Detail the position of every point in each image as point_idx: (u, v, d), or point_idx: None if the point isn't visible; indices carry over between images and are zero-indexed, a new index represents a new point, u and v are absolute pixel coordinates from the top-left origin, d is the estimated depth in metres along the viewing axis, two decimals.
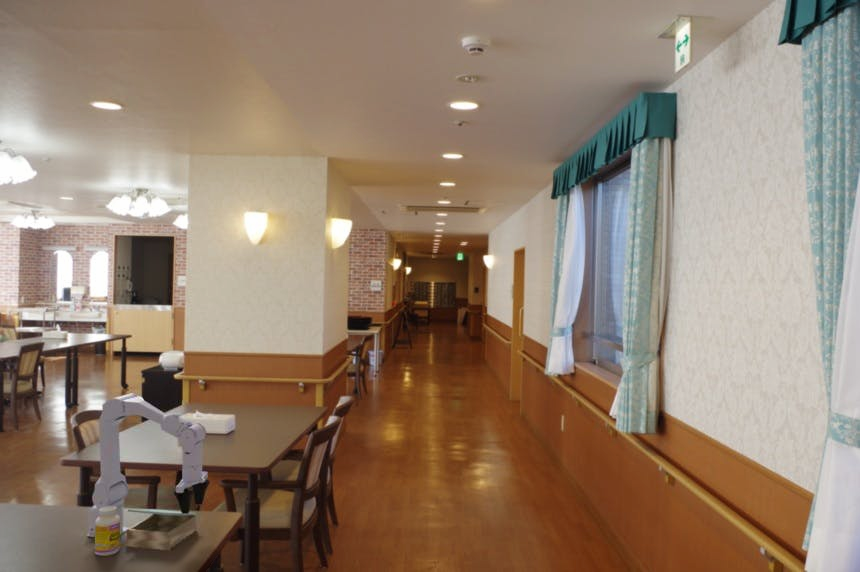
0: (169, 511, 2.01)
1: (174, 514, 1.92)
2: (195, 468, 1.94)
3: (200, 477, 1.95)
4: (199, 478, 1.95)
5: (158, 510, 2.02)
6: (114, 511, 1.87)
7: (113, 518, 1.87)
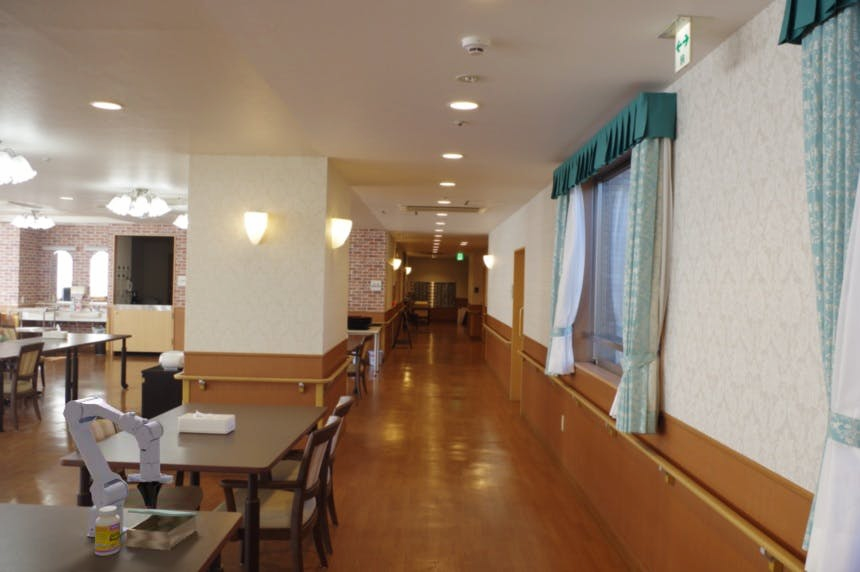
0: (169, 511, 2.01)
1: (174, 515, 1.92)
2: (140, 465, 1.96)
3: (144, 476, 1.95)
4: (142, 476, 1.95)
5: (158, 510, 2.02)
6: (114, 511, 1.87)
7: (113, 518, 1.87)
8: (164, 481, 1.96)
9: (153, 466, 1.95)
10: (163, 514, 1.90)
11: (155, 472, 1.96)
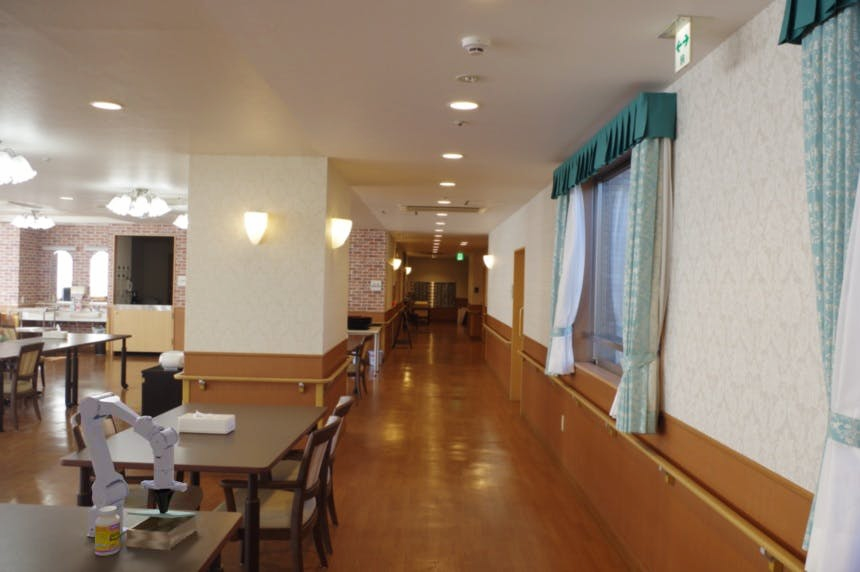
0: (169, 512, 2.00)
1: (174, 516, 1.91)
2: (154, 472, 1.95)
3: (157, 483, 1.94)
4: (156, 484, 1.94)
5: (158, 511, 2.02)
6: (114, 511, 1.87)
7: (113, 518, 1.87)
8: (178, 489, 1.95)
9: (167, 473, 1.95)
10: (163, 516, 1.90)
11: (169, 480, 1.95)
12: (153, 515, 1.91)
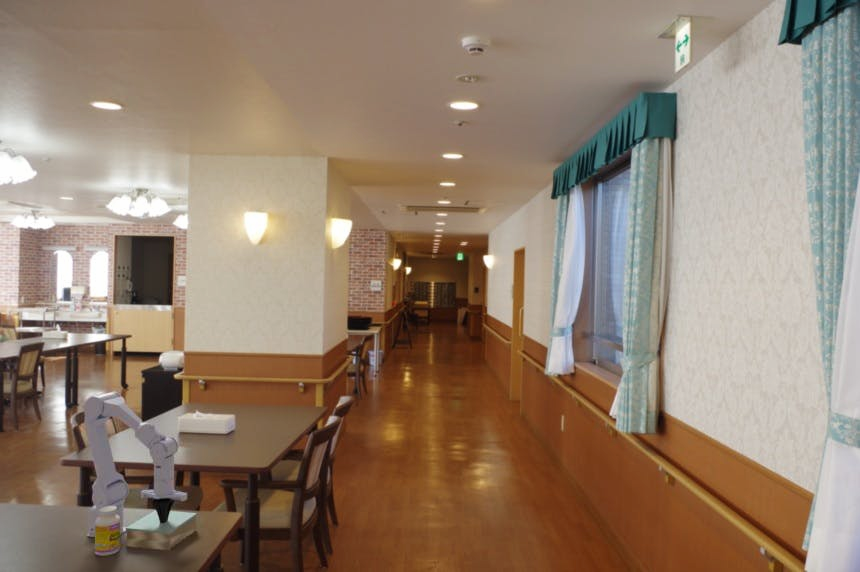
0: (168, 517, 2.00)
1: (172, 530, 1.91)
2: (154, 481, 1.95)
3: (158, 493, 1.94)
4: (156, 493, 1.94)
5: (157, 516, 2.01)
6: (114, 511, 1.87)
7: (113, 518, 1.87)
8: (178, 498, 1.96)
9: (167, 483, 1.95)
10: (161, 532, 1.90)
11: (169, 489, 1.95)
12: (151, 531, 1.90)
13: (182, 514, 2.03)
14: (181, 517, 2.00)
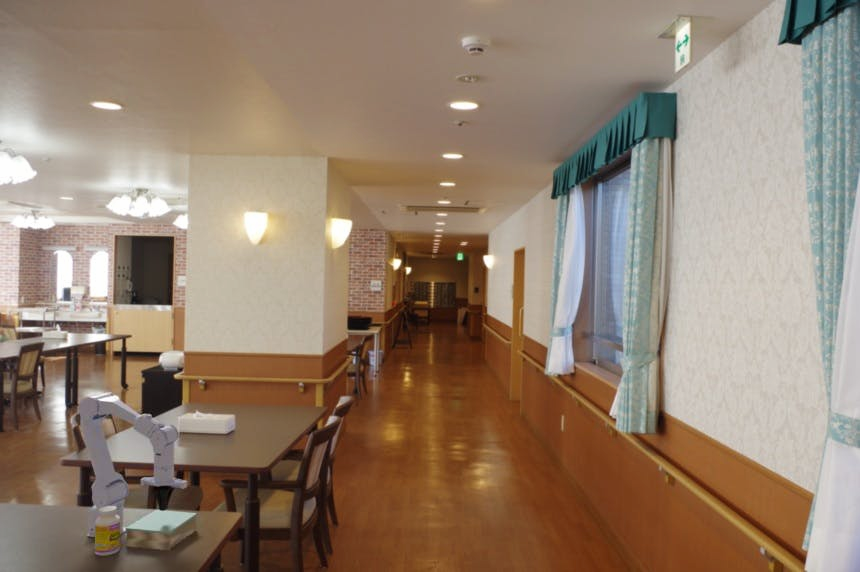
0: (168, 517, 2.00)
1: (172, 530, 1.91)
2: (154, 469, 1.95)
3: (157, 480, 1.94)
4: (156, 481, 1.94)
5: (157, 516, 2.01)
6: (114, 511, 1.87)
7: (113, 518, 1.87)
8: (178, 486, 1.96)
9: (167, 470, 1.95)
10: (161, 532, 1.90)
11: (169, 477, 1.95)
12: (151, 531, 1.90)
13: (182, 514, 2.03)
14: (181, 517, 2.00)
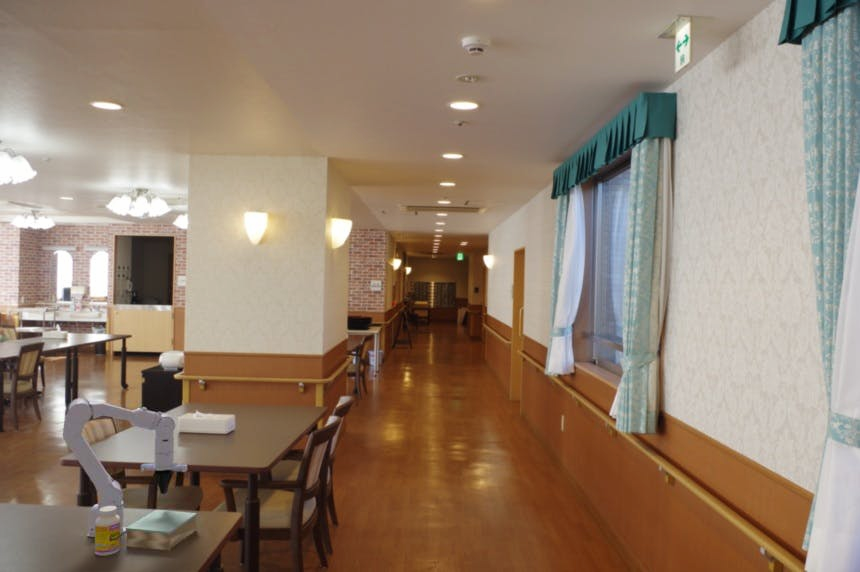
0: (168, 517, 2.00)
1: (172, 530, 1.91)
2: (155, 454, 2.07)
3: (160, 465, 2.06)
4: (158, 465, 2.06)
5: (157, 516, 2.01)
6: (114, 511, 1.87)
7: (113, 518, 1.87)
8: (179, 469, 2.08)
9: (169, 456, 2.07)
10: (161, 532, 1.90)
11: (170, 462, 2.07)
12: (151, 531, 1.90)
13: (182, 514, 2.03)
14: (181, 517, 2.00)
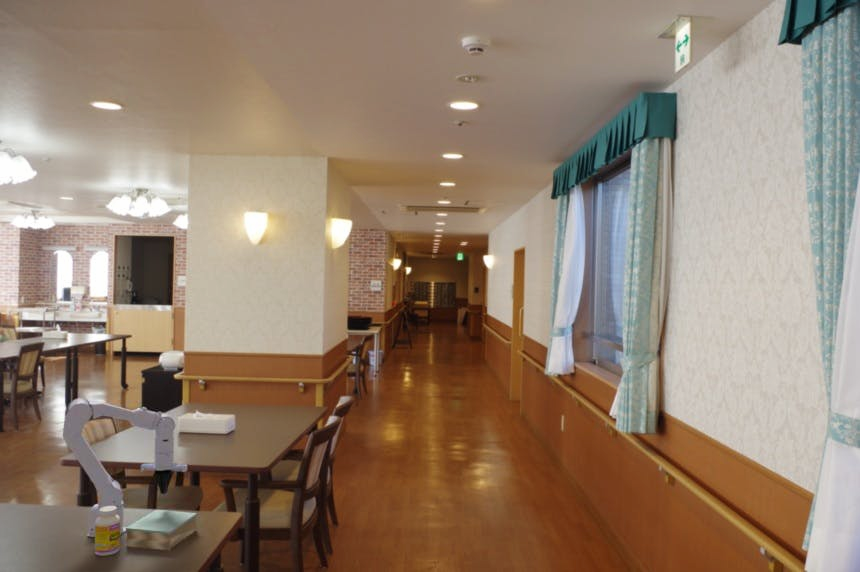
0: (168, 517, 2.00)
1: (172, 530, 1.91)
2: (155, 454, 2.07)
3: (160, 465, 2.06)
4: (158, 465, 2.06)
5: (157, 516, 2.01)
6: (114, 511, 1.87)
7: (113, 518, 1.87)
8: (179, 469, 2.08)
9: (169, 455, 2.07)
10: (161, 532, 1.90)
11: (170, 462, 2.07)
12: (151, 531, 1.90)
13: (182, 514, 2.03)
14: (181, 517, 2.00)
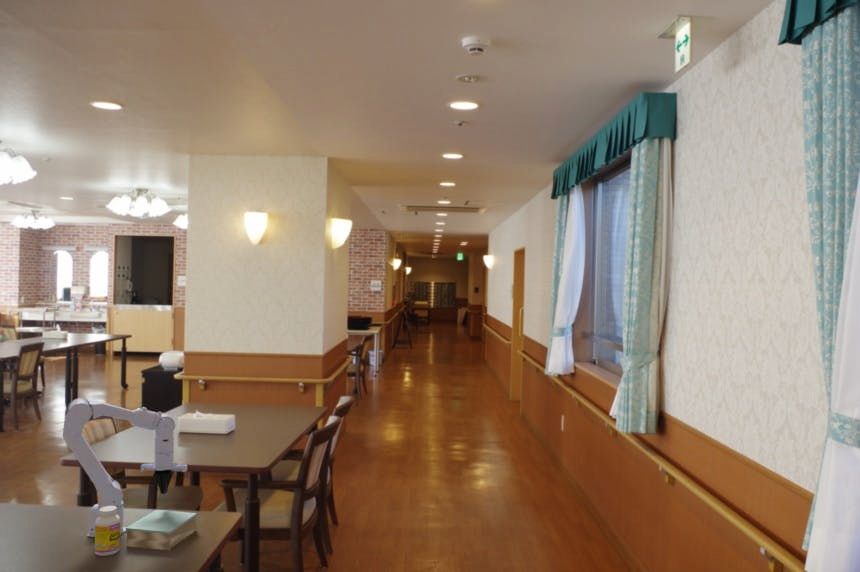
0: (168, 517, 2.00)
1: (172, 530, 1.91)
2: (155, 454, 2.07)
3: (160, 465, 2.06)
4: (158, 465, 2.06)
5: (157, 516, 2.01)
6: (114, 511, 1.87)
7: (113, 518, 1.87)
8: (179, 469, 2.08)
9: (169, 455, 2.07)
10: (161, 532, 1.90)
11: (170, 462, 2.07)
12: (151, 531, 1.90)
13: (182, 514, 2.03)
14: (181, 517, 2.00)
